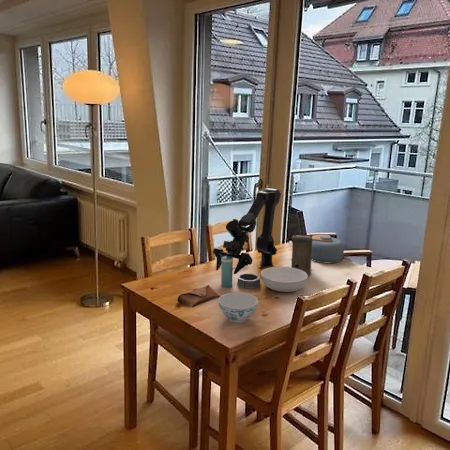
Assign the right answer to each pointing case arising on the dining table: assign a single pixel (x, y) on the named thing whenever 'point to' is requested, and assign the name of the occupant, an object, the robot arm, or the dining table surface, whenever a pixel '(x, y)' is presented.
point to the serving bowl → (284, 278)
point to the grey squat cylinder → (326, 249)
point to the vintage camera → (302, 253)
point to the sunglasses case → (197, 296)
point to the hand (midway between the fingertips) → (225, 272)
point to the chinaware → (238, 306)
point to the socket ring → (248, 280)
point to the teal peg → (226, 271)
